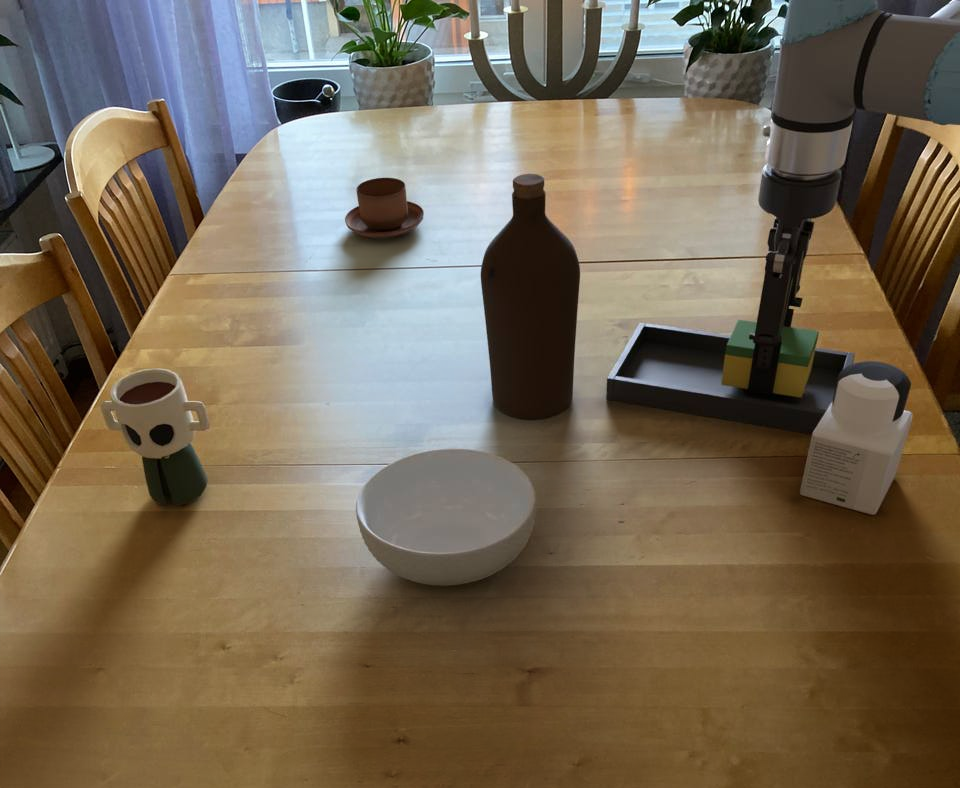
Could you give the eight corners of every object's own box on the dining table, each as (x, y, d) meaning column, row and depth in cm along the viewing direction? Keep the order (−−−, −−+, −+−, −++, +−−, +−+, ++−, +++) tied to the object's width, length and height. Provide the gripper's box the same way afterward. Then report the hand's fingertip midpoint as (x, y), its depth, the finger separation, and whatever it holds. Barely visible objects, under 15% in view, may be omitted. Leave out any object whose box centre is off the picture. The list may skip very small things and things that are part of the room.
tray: (850, 374, 117) (855, 353, 115) (832, 437, 109) (837, 415, 107) (638, 342, 125) (639, 322, 123) (605, 399, 116) (606, 378, 114)
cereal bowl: (559, 520, 101) (560, 463, 96) (500, 630, 91) (497, 572, 86) (408, 489, 106) (401, 432, 101) (335, 589, 96) (323, 532, 91)
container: (821, 456, 107) (847, 345, 97) (895, 475, 103) (929, 363, 94) (798, 496, 102) (822, 383, 93) (874, 517, 99) (907, 403, 90)
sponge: (810, 370, 115) (819, 330, 111) (801, 398, 111) (809, 357, 108) (732, 358, 118) (738, 319, 114) (721, 384, 114) (726, 345, 110)
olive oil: (557, 430, 112) (558, 206, 95) (472, 412, 116) (457, 193, 98) (591, 383, 119) (597, 165, 101) (509, 367, 123) (501, 154, 105)
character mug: (121, 512, 106) (79, 406, 97) (142, 472, 111) (105, 367, 102) (220, 513, 105) (188, 406, 96) (237, 472, 110) (208, 367, 101)
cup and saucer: (333, 226, 155) (326, 185, 150) (399, 205, 159) (395, 165, 154) (370, 252, 147) (364, 210, 143) (439, 230, 152) (436, 188, 147)
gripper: (782, 128, 105) (750, 331, 121) (743, 200, 93) (714, 414, 109) (856, 134, 103) (813, 340, 119) (826, 209, 91) (783, 426, 107)
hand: (766, 375), depth 114 cm, fingers closed on sponge, 6 cm apart
